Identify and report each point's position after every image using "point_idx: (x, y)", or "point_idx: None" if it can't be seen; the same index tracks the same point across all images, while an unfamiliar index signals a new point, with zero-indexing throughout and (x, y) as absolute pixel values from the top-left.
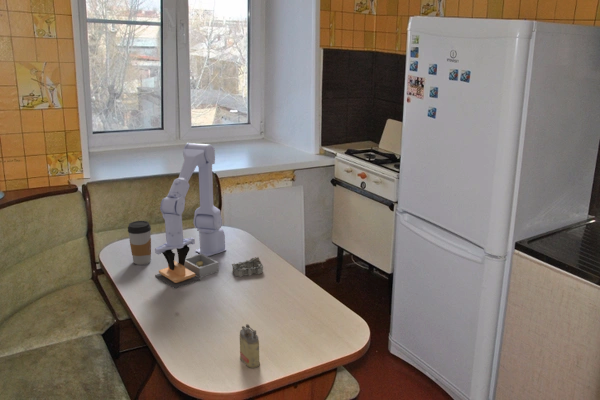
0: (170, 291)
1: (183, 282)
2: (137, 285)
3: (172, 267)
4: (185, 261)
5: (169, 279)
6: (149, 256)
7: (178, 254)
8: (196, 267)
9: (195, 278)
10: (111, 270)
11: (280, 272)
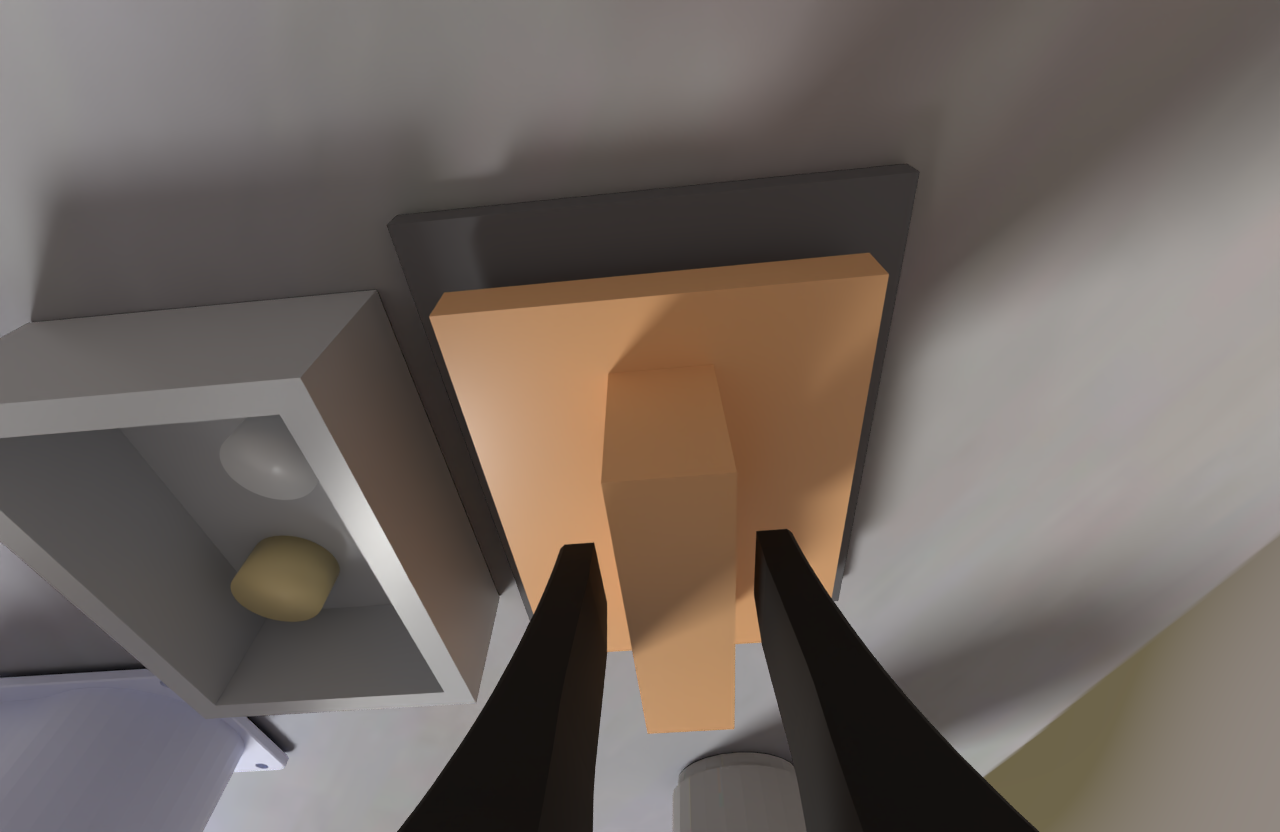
0: (1032, 109)
1: (699, 248)
2: (1109, 523)
3: (813, 571)
4: (458, 658)
5: None
6: (707, 819)
7: (588, 826)
8: (350, 455)
9: (462, 265)
10: (983, 770)
11: None
